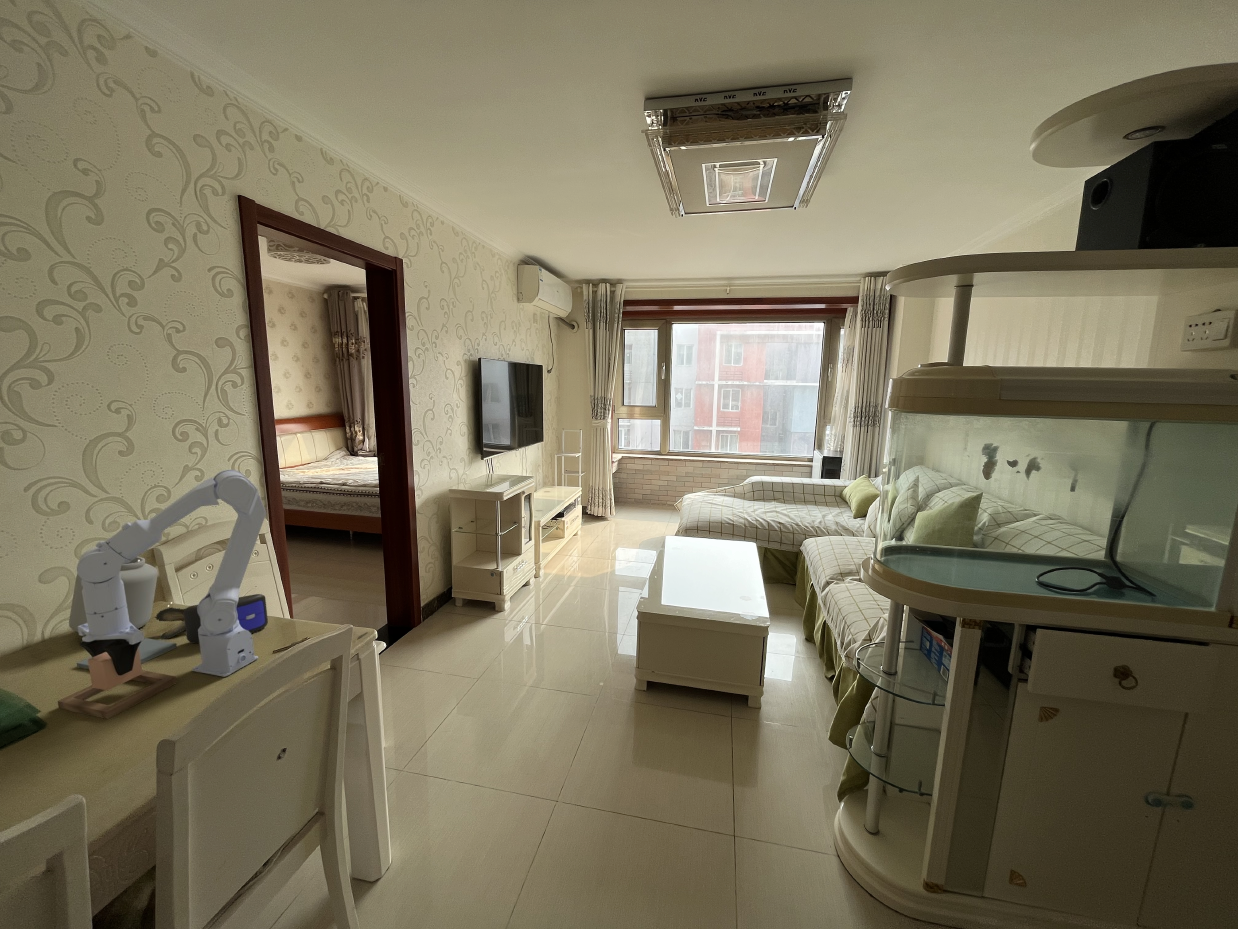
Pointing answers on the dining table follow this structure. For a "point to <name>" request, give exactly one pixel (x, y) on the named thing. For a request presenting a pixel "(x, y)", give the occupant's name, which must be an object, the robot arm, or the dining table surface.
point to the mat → (143, 651)
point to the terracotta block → (110, 671)
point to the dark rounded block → (249, 617)
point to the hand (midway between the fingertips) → (116, 671)
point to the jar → (137, 592)
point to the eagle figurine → (172, 615)
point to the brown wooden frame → (80, 705)
